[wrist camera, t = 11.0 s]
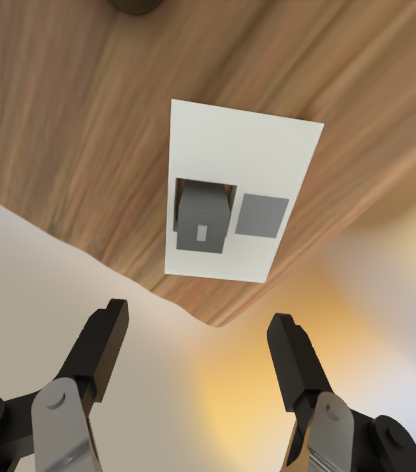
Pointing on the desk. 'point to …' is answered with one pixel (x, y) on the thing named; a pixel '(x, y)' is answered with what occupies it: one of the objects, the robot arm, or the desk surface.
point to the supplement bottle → (134, 5)
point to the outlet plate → (237, 183)
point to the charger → (202, 217)
